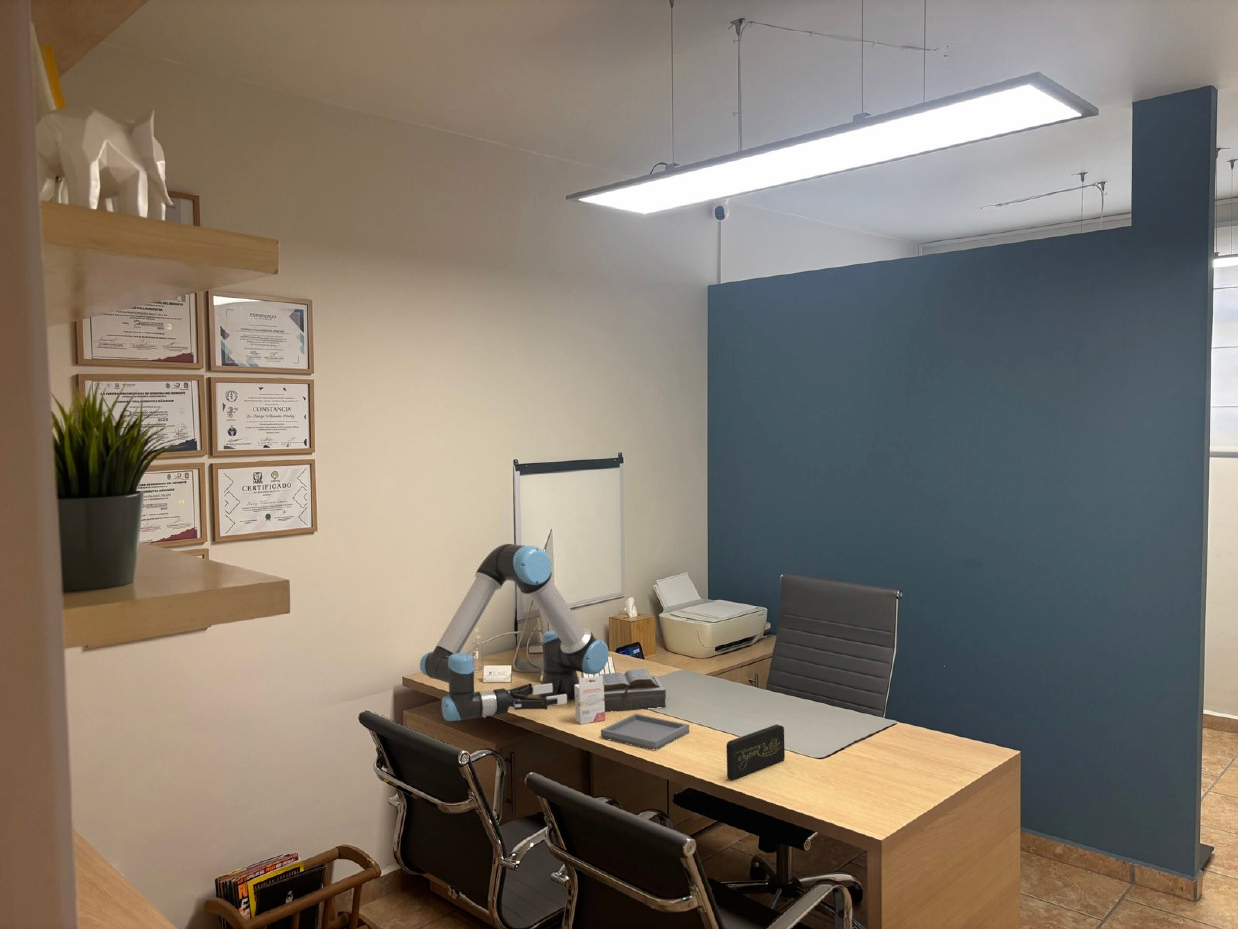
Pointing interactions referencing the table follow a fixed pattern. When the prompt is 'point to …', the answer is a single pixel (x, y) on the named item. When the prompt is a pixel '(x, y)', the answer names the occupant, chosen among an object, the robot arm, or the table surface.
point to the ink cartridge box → (589, 700)
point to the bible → (632, 691)
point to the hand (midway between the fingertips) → (559, 693)
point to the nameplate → (755, 752)
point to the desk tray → (645, 731)
